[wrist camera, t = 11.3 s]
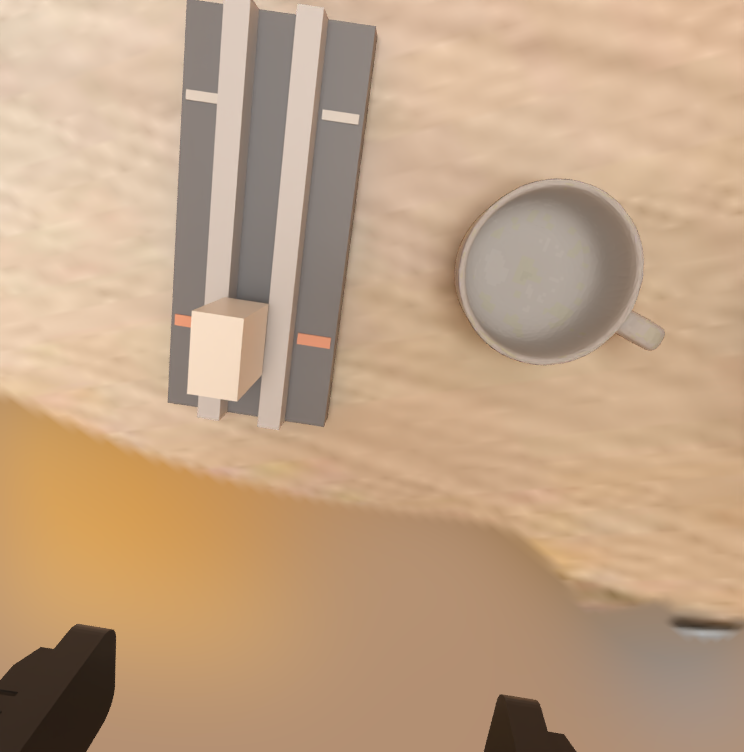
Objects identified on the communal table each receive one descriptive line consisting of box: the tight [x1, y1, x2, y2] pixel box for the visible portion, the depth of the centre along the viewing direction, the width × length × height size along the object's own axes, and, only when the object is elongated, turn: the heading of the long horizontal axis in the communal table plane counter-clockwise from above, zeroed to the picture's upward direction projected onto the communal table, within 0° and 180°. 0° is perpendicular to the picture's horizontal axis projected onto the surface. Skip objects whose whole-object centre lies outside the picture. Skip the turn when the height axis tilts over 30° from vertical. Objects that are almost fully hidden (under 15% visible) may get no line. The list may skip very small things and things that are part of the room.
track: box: [168, 0, 377, 430], centre depth 39 cm, size 12×27×4 cm, turn 172°
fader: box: [187, 297, 269, 402], centre depth 36 cm, size 3×5×8 cm, turn 172°
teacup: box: [455, 179, 665, 365], centre depth 37 cm, size 14×11×8 cm
